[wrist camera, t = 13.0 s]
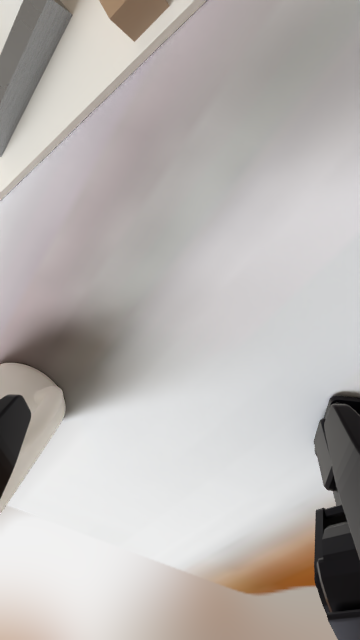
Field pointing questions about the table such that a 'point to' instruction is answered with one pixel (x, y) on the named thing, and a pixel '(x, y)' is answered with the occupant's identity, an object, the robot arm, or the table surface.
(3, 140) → the collar
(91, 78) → the plate
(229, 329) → the table surface
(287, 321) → the table surface
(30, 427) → the mug
